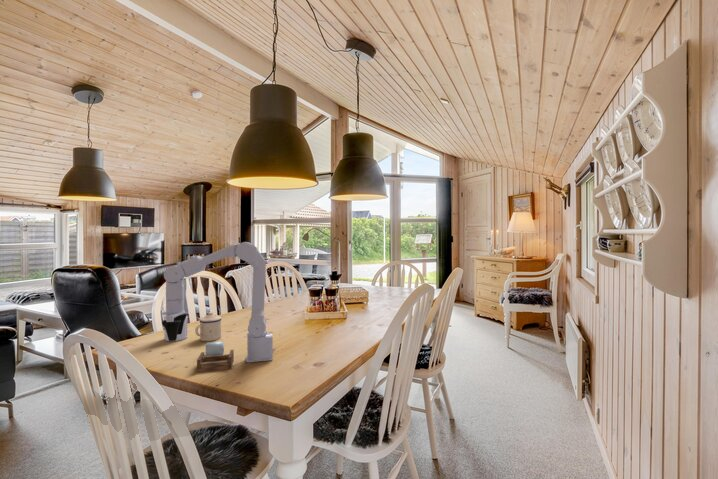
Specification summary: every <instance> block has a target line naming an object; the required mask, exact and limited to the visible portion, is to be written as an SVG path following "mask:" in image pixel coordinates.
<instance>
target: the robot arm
mask: <svg viewBox="0 0 718 479" xmlns="http://www.w3.org/2000/svg"><path fill="white" fill-rule="evenodd" d="M236 257H237V258H238V259H240V260H242V261H244V262H246V263H247V264H248V265H249V266H250V267H252V269H253V271H252V291H251V292H252V295H251V297H252V298H251V316H250V318H249V321H248V325H247V326H248V327H247V331H248V332H247V334H246V336H247V338H246V339H247V340H246V342H247V344H246V346H247V348H246V350H247V353H246V359H245V363H254V362H256V363H257V362H265V361H266V362H267V361H273V359H274V357H273V355H274V347H273V345H274V344H273V337H274V336H273V333H268V331H266V329H267V326H266V324H267V320H266V317H265V291H266V288H265V287H266V272H267V271H266V267H267V262H266V260H265V258H264V257H263V255H262V253H261V252H260V250H259V249H258V248H257V246H255V245H254V244H253V243H251V242H249V241H243V242H240V243H236V244H233V245H232V244H231V245H229V246H225V247H224V248H221V249H219V250H216V251H214V252H212V253H210V254H208V255H205V256H200V255H192V256H190V257H189V258H188V259H185V260H184V261H178V262H176V264H175V265H170V266H169V267H167V268H166V269H164V271H163V278H164V280H165V311H163V312H161V315H165V316H166V320H162V321H161V324H162V325H163V328H164V327H165V329H166V332H167V336H168V339H169V341H168V342H177V341H176V338H177V335H178V334H181V333H182V330H183V325H184V321H185V318H186V316H187V317H188V313H187V312H186V310H185V285H184V284H185V283H184V279H185V278H189V277H191V276H194V275H197V274H198V273H200V272H203V271H205V270H206V267H207V265H209V264H212V263H215V262H218V261H221V260H222V259H226V258H234V259H235V258H236Z"/></svg>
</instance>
